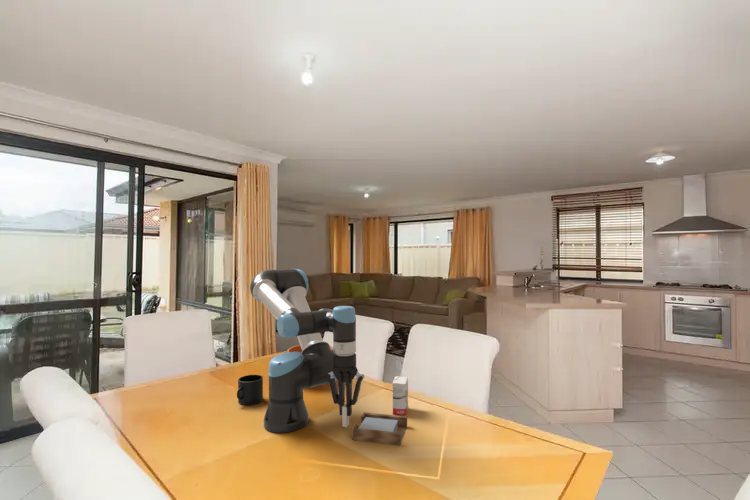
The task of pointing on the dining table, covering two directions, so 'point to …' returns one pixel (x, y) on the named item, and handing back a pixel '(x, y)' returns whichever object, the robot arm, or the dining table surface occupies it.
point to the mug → (250, 389)
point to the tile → (379, 424)
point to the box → (378, 435)
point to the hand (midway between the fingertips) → (345, 425)
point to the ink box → (400, 395)
